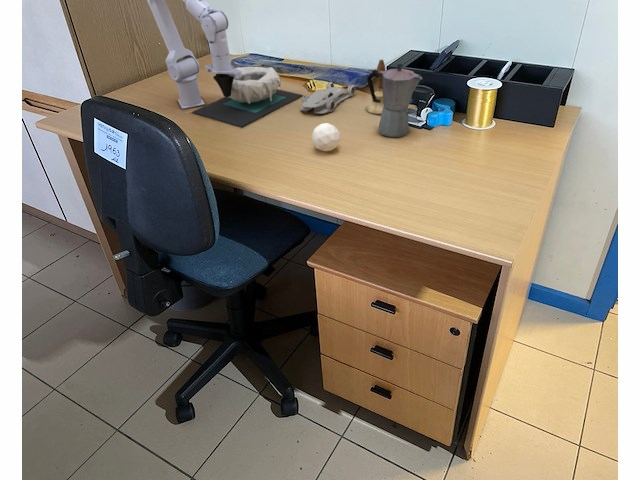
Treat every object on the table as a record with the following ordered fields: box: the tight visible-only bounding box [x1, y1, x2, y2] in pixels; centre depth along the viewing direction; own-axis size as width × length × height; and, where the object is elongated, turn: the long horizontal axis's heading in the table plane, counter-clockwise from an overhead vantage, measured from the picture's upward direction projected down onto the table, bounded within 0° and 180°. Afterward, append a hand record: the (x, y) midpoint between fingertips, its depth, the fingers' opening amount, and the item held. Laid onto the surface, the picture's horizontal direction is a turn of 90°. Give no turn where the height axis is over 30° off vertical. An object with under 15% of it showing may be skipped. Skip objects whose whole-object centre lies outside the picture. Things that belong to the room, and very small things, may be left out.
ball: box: [311, 122, 341, 152], centre depth 135 cm, size 8×8×8 cm
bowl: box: [227, 66, 282, 104], centre depth 167 cm, size 21×20×10 cm
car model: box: [300, 81, 356, 115], centre depth 163 cm, size 11×24×5 cm, turn 148°
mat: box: [191, 88, 304, 128], centre depth 168 cm, size 31×24×1 cm
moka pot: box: [366, 63, 423, 138], centre depth 138 cm, size 10×15×20 cm, turn 78°
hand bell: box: [366, 59, 386, 115], centre depth 153 cm, size 8×8×16 cm
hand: (227, 96), depth 159 cm, fingers closed
